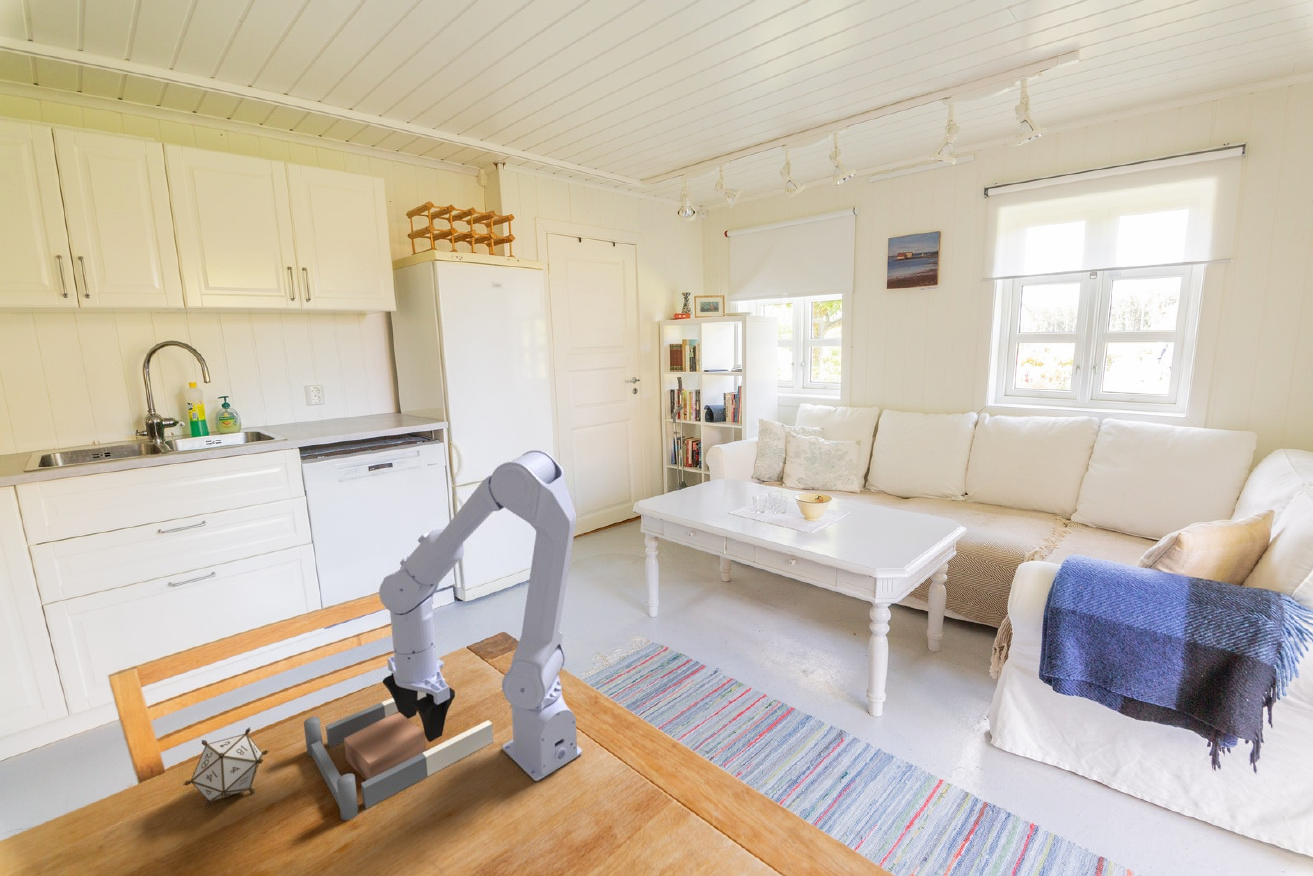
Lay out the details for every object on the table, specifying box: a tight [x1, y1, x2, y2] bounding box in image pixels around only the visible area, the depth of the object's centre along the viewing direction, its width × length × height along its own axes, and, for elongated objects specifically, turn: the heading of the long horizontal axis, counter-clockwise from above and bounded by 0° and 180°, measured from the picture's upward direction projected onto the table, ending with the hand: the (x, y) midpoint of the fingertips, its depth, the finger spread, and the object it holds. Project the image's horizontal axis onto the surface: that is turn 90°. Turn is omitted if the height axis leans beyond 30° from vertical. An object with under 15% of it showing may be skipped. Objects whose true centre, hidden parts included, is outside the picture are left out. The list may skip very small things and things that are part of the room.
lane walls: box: [381, 677, 494, 777], centre depth 89 cm, size 17×10×3 cm, turn 44°
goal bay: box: [303, 701, 429, 822], centre depth 82 cm, size 18×11×5 cm, turn 44°
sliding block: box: [343, 711, 427, 781], centre depth 83 cm, size 8×8×4 cm
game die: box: [182, 726, 270, 810], centre depth 76 cm, size 9×8×10 cm
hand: (421, 727), depth 87 cm, fingers open, 7 cm apart
